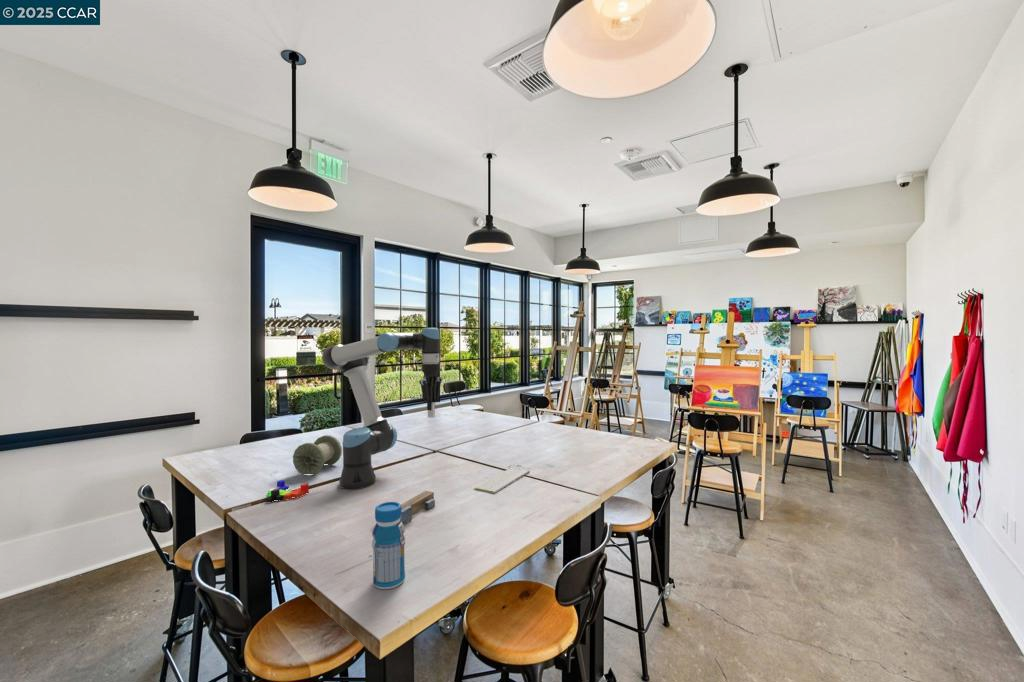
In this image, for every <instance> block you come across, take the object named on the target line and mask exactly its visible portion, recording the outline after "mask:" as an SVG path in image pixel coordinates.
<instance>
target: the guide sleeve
mask: <svg viewBox="0 0 1024 682" xmlns="http://www.w3.org/2000/svg"><path fill="white" fill-rule="evenodd" d="M435 506H436V499H435V498H434V499H430V500H429V501H427V502H425V507H424V509H425V510H427V511H428V510H429V511H430V510H431V509H432V508H434V507H435Z"/></svg>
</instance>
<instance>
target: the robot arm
mask: <svg viewBox="0 0 1024 682" xmlns="http://www.w3.org/2000/svg"><path fill="white" fill-rule="evenodd" d="M440 339H441V337H440V329H439V328H438V327H423V328H422V329H421V332H406V331H405V332H390V331H387V332H383V333H381V334H380V335H378V336H377V335H376V336H373V337H370V338H369V337H368V338H367V339H362V340H360V341H359V340H358V341H356V342H351V343H347V344H336V345H335V344H334V345H330V346H328V347H326V348H325V349H324V351H322V355H321V361H322V363H323V365H324V366H325V367H327V368H328V369H330V370H335V371H337V370H338V371H339V370H340V371H342V374H343V376H345V377H347V378H348V381H349V384H350V387H351V390H352V393H353V395H354V398H355V401H356V404H357V406H358V409H359V413H360V416H361V418H362V421H363V426H362V427H358V428H357V427H356V428H353V429H349V430H347V431H345V433H344V434H343V436H342V458H343V459H342V461H343V462H342V464H343V465H342V470H341V474H340V478H339V479H338V480H339V481H338V484H339V485H338V486H339V487H340V488H342V489H345V490H346V489H347V490H356V489H363V488H367V487H369V486H372V485H374V484H375V483H376V481H377V480H376V479H377V478H376V477H377V476H376V474H375V471H374V468H373V465H372V456H374V455H376V454H379V453H382V452H385V451H388V450H390V449H392V448H393V447H394V446H395V445H396V443H397V440H398V433H397V429H396V427H395V426H394V425H393V424H390V423H389V422H388V420H387V418H385V417H383V415H382V412H381V409H380V406H379V404H378V401H377V398H376V395H375V393H374V390H373V387H372V385H371V382H370V379H369V376H368V373H367V370H368V369H369V366H368V365H369V363H370V357H371V356H372V357H373V356H376V355H381V354H385V353H389V352H392V351H393V352H394V351H406V350H407V351H408V350H421V363H422V365H421V372H422V373H423V375H422V377H423V378H422V379H420V380H419V384H420V388H421V393H422V399H423V402H424V403H426V406H427V407H426V408H427V409H426V410H427V418H431V419H432V418H433V419H434V418H435V417H436V403H438V400H439V397H440V391H441V383H442V380H443V378H442V377H439V373H440V369H441V368H440V366H441V365H440V364H439V363H440Z"/></svg>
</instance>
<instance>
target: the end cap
mask: <svg viewBox="0 0 1024 682" xmlns="http://www.w3.org/2000/svg"><path fill="white" fill-rule="evenodd" d="M400 520H401V522H402V523H403V525H405V524H407V523H409V522H410V521H412V520H413V515H412V507H411V506H408V507H406V508H404V509H402V515H401V518H400Z"/></svg>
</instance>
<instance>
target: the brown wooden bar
mask: <svg viewBox="0 0 1024 682" xmlns="http://www.w3.org/2000/svg"><path fill="white" fill-rule="evenodd" d="M430 499H435V492H434V491H430V490H424V491H422V492H420V493H419V494H417V495H414V496H413V497H411V498H410V499H408V500H406V501H404V502H402V503H400V504H401V507H402V509H404V508H406V507H408V506H411V507H412V516H413V515H415V514H416V513H418V512H419V511H421V510H422V509H425V502H427V501H429V500H430Z"/></svg>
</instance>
